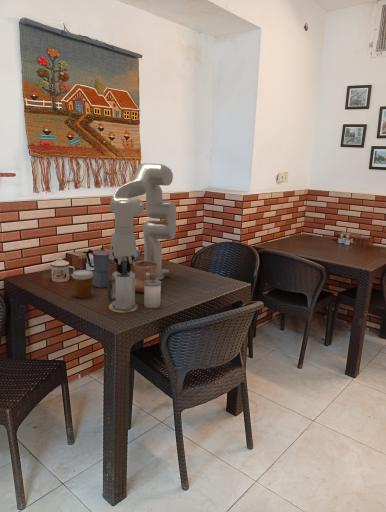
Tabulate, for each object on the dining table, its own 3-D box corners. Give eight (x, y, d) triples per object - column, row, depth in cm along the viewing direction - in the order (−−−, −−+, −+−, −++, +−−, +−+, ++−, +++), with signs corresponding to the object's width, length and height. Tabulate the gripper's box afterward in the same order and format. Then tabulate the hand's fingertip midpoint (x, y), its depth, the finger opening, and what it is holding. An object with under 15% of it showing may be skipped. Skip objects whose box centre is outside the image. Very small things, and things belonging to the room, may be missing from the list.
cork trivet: (130, 301, 182) (130, 299, 182) (143, 310, 172) (143, 309, 171) (103, 305, 175) (103, 304, 175) (115, 316, 165) (115, 314, 164)
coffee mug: (118, 264, 239) (118, 248, 236) (118, 260, 248) (118, 245, 246) (140, 264, 242) (140, 248, 239) (139, 260, 251) (139, 245, 249)
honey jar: (82, 302, 178) (82, 276, 175) (68, 297, 183) (67, 272, 180) (98, 296, 186) (97, 272, 183) (83, 292, 191) (83, 268, 188)
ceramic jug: (162, 296, 190) (163, 267, 187) (132, 297, 187) (132, 268, 184) (156, 284, 207) (157, 258, 204) (128, 285, 204) (129, 258, 200)
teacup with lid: (50, 282, 202) (49, 260, 199) (53, 277, 210) (52, 256, 207) (74, 282, 204) (73, 260, 201) (76, 277, 212) (75, 256, 210)
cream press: (155, 302, 182) (156, 270, 178) (163, 308, 176) (164, 274, 172) (140, 305, 178) (141, 272, 174) (148, 311, 171) (149, 276, 168)
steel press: (129, 301, 180) (129, 269, 176) (138, 308, 172) (139, 275, 168) (103, 305, 173) (103, 272, 169) (112, 313, 165) (112, 279, 162)
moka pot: (110, 289, 196) (110, 250, 191) (81, 286, 199) (80, 247, 194) (118, 283, 205) (117, 246, 200) (90, 280, 208) (89, 243, 203)
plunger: (125, 298, 174) (125, 260, 170) (128, 300, 172) (128, 261, 168) (119, 299, 173) (119, 260, 168) (121, 301, 170) (121, 262, 166)
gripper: (137, 227, 172) (137, 267, 177) (101, 229, 163) (102, 272, 168) (145, 230, 166) (144, 272, 171) (108, 232, 157) (108, 276, 162)
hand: (123, 271), depth 169 cm, fingers closed on plunger, 3 cm apart
